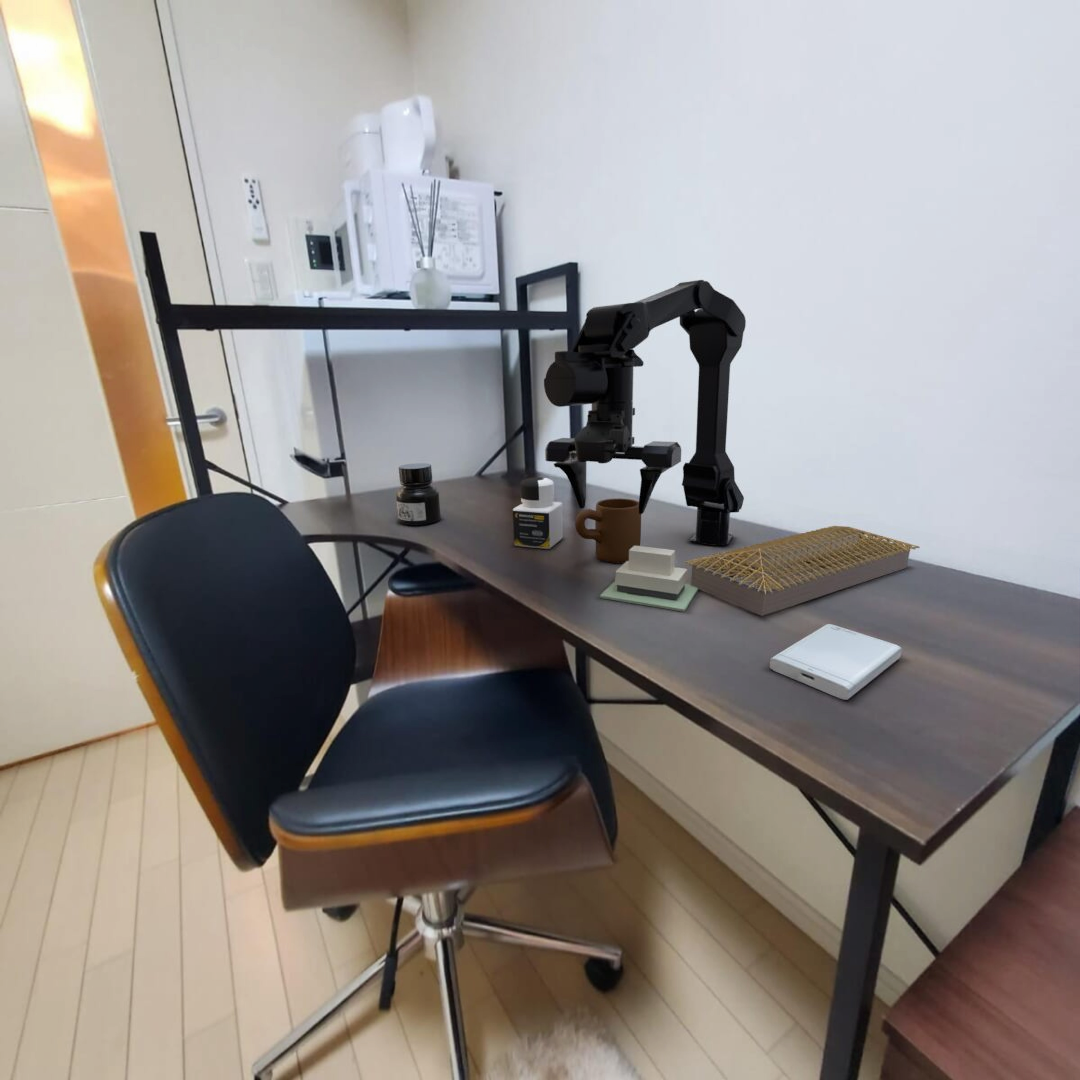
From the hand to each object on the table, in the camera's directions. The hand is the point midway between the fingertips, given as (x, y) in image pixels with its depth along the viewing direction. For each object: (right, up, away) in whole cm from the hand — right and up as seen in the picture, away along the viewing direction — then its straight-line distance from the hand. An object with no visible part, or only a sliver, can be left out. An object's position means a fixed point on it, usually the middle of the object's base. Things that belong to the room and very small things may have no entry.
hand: (611, 510), depth 84 cm
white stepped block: (+5, -11, -2) cm, 13 cm away
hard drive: (+22, -18, -22) cm, 36 cm away
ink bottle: (-36, 0, +40) cm, 54 cm away
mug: (+1, -8, +13) cm, 15 cm away
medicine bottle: (-11, -5, +23) cm, 26 cm away
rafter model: (+29, -10, +2) cm, 31 cm away
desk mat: (+5, -12, -2) cm, 13 cm away
